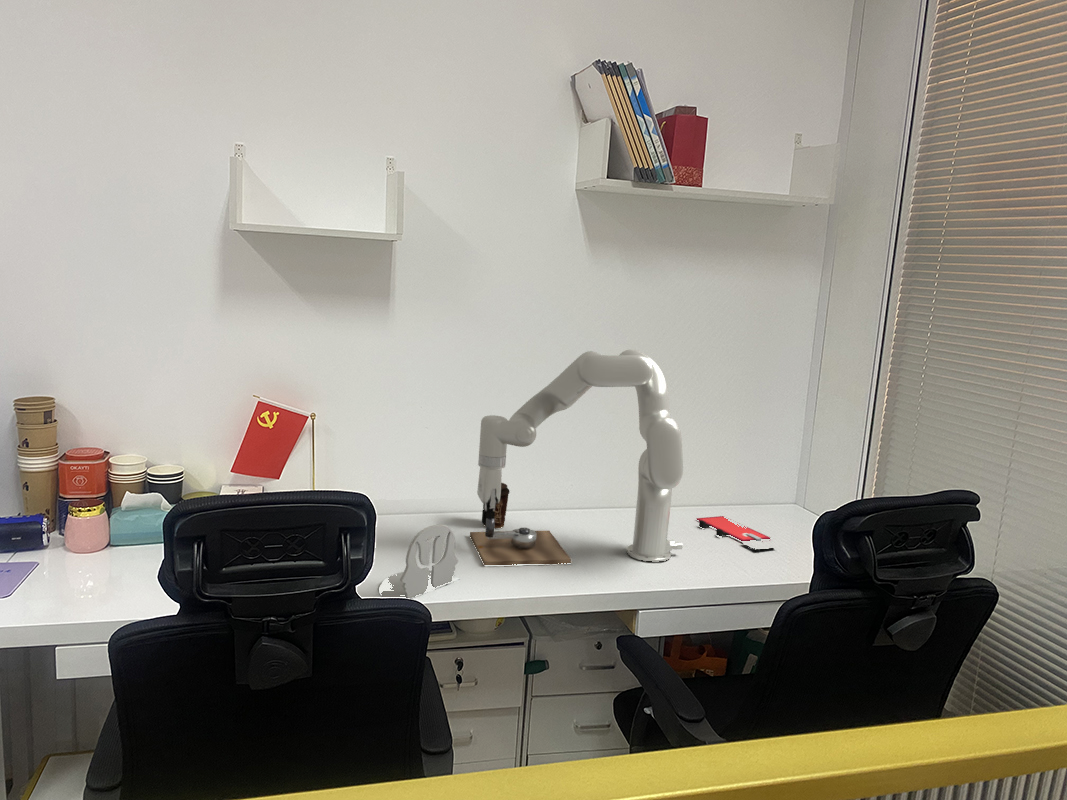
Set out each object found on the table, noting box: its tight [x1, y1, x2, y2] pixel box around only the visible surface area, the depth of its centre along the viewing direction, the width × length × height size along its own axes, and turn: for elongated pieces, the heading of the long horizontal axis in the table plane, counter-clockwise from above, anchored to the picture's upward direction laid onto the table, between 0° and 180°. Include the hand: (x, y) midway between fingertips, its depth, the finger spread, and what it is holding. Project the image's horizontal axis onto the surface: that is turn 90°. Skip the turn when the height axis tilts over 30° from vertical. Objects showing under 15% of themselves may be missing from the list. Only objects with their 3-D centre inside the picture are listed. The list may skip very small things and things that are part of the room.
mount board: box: [469, 530, 572, 566], centre depth 225 cm, size 24×23×2 cm
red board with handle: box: [695, 515, 771, 552], centre depth 252 cm, size 30×3×15 cm
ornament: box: [380, 524, 459, 599], centre depth 196 cm, size 22×13×17 cm, turn 142°
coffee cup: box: [484, 482, 511, 529], centre depth 243 cm, size 9×8×13 cm
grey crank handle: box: [484, 517, 537, 547], centre depth 222 cm, size 15×7×8 cm, turn 107°
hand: (487, 523), depth 224 cm, fingers closed
